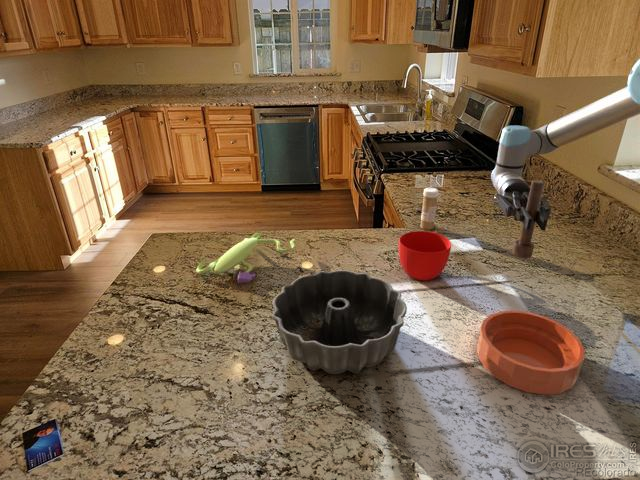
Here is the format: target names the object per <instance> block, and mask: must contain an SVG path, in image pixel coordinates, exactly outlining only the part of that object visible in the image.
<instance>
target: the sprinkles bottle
mask: <svg viewBox="0 0 640 480" xmlns="http://www.w3.org/2000/svg"><path fill="white" fill-rule="evenodd" d="M438 197H439V189H438V188H434V187H425V188H424V189H423V201H422V209H421V215H420V216H421V217H420V218H421V219H420V225H419V227H420V228H421V229H423V230H429V231H430V230H433V229H435V221H436V215H437V207H438Z"/></svg>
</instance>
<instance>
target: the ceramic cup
mask: <svg viewBox="0 0 640 480" xmlns="http://www.w3.org/2000/svg"><path fill="white" fill-rule="evenodd" d="M451 250H452V243H451V240H450V239H448V238H447V237H446V236H444V235H442V234H439V233H437V232H434V231H433V232H432V231H426V230H416V231H409V232H406V233H403V234H401V235H400V237H399V240H398V256H399V257H398V258H399V263H400V265H401V267H402V269H403V271H404V272H405V274H406V275H407V276H408V277H410V278H411V279H413V280H416V281H423V282H424V281H425V282H426V281H432V280H434V279H435V278H437V277H438V276H439V275H440V274H441V273H442V272H443V271H444V270H445V268H446V266H447V263H448V260H449V258H450V254H451Z"/></svg>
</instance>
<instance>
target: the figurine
mask: <svg viewBox="0 0 640 480" xmlns="http://www.w3.org/2000/svg"><path fill="white" fill-rule="evenodd" d="M262 235H263V234H262V232H255V233H254V234H252V236H251V237H245V238H244V239H243V240H242V241H240V242H238V243H237V244H235V245H233V246H232V247H231V248H229V249H228V250H227V251H226V252H225V253H224V254H223V255H221V256H220V257H218V258H217V259H216V260H215V261H213V262H211V263H209V265H208V266H206V267H204V266H205V264H206V263H207V259H206V258H202V260H201V261H200V262H199V264H198V265H197V267H196V269H195V273H196V274H197V275H198V276H199V275H204V274H206V273H208V272H209V271H211V270H212V269H213V268H214V269H213V272H215V273H217V274H222V273H225V272H228V274H232V275H233V273H234V272H235V267H237V266H239V264H241V265H242V266H244V267H246V268H247V267H248V268H247V270H246V271H245V269H240V270H239V272H238V274H237V276H236V277H237V284H246V283H247V284H248V283H250V282H251V281H253V280H255V278H256V273H254V271H253V269H254V266H253V264H251V263H249V262H247V261H245V260H246V259H247V258H248V257H249V256H250V255H251V254H252V253H253V252H254V250H255V249H256V247H257V245H258V244H274V245H276V247H275V248H276V251H277V252H278V253H279V254H286V253H289V252H292V251H294V250H295V249H296V245H295V243H297V240H296V239H295V238H293V239H291V240H290V241H289V245H290V247H291V248H286V249H285V248H281V241H280V240H277V239H276V238H275V239H274V238H261V237H262Z"/></svg>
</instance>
